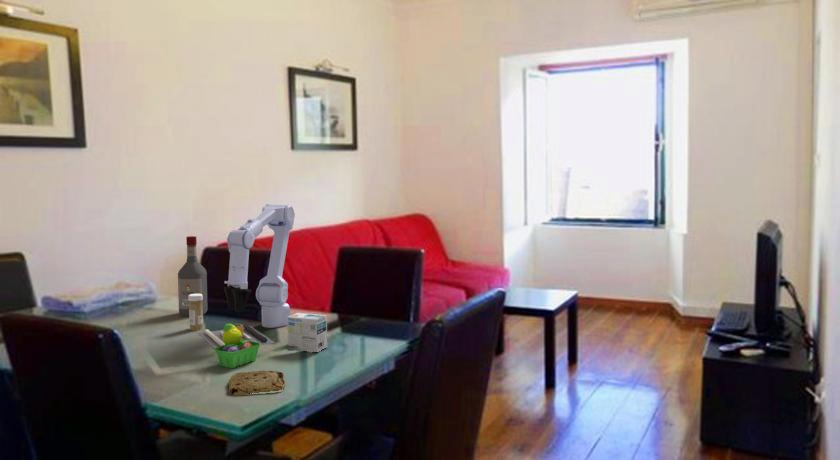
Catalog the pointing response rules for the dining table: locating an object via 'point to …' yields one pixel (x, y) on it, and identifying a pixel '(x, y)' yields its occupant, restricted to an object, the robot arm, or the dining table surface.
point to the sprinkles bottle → (195, 312)
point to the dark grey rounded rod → (255, 333)
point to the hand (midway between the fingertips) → (235, 310)
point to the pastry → (256, 382)
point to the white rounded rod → (214, 337)
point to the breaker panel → (246, 336)
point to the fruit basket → (235, 348)
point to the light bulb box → (307, 332)
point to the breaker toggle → (239, 328)
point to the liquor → (191, 279)
